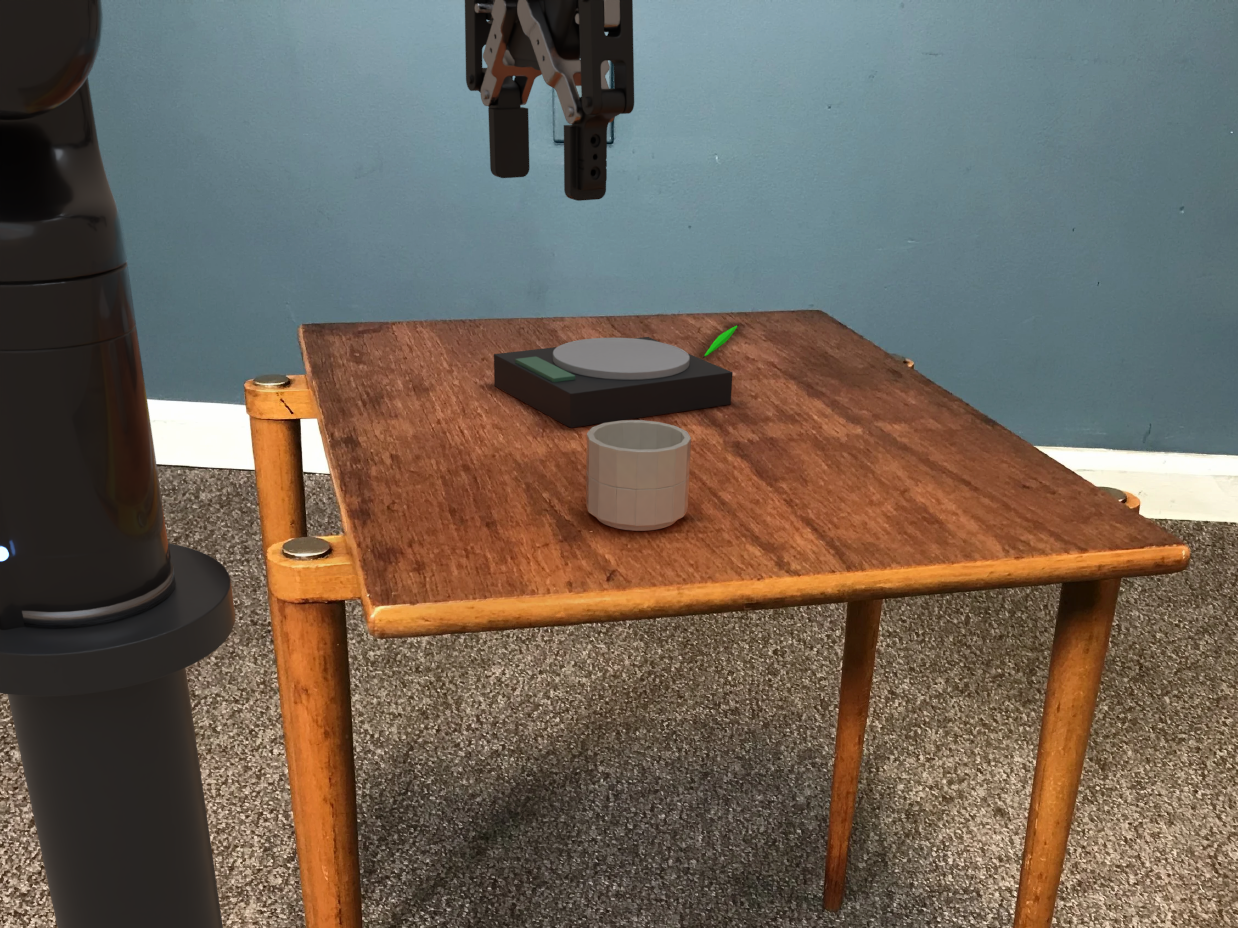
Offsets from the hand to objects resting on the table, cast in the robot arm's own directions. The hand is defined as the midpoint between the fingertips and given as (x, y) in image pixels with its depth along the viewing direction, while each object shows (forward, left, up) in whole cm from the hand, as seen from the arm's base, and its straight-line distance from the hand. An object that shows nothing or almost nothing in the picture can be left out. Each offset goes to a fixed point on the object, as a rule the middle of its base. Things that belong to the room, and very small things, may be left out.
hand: (546, 187), depth 76 cm
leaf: (+33, +28, -19) cm, 47 cm away
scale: (+15, +17, -18) cm, 29 cm away
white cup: (+3, -6, -18) cm, 19 cm away
